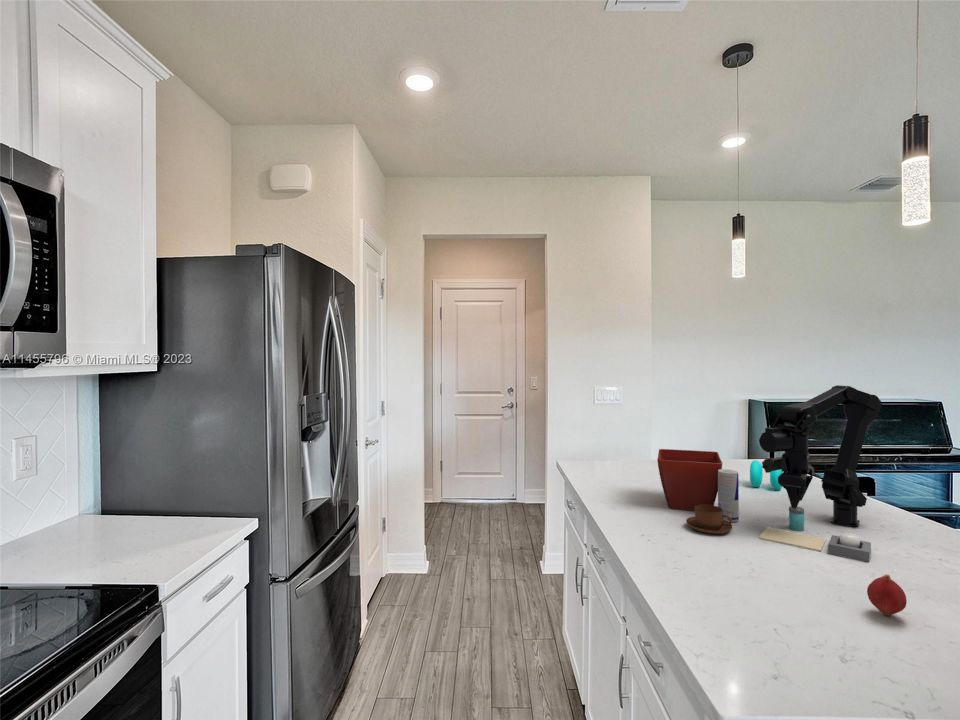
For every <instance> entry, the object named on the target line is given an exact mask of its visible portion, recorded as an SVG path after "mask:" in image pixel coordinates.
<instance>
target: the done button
mask: <svg viewBox="0 0 960 720" xmlns="http://www.w3.org/2000/svg"><path fill="white" fill-rule="evenodd" d="M839 536H840V545H845V546H850V547H855V548H860V541H861V540H860V538H861V536H859V535H858V534H855V533H851V532H840V533H839Z"/></svg>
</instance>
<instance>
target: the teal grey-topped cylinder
mask: <svg viewBox="0 0 960 720" xmlns="http://www.w3.org/2000/svg"><path fill="white" fill-rule="evenodd" d="M788 528H789V530H791V531H795V532H804V531H805V508H804V507H802V506H797V508H792V507H791V505H790V506H788Z"/></svg>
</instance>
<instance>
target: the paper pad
mask: <svg viewBox="0 0 960 720" xmlns="http://www.w3.org/2000/svg"><path fill="white" fill-rule="evenodd" d="M758 539H760V540H765V541H768V542H769V541H770V542H772V543H773V542H774V543H778V544H783V545H787V546H791V547H792V546H793V547H796V548H802V549H806V550H811V551H816V552H820V553H822V551H823V548H824V546H825V544H826V542H827V538H823V537H819V536H818V537H817V536H812V535H808V534H803V533H798V532H793V531H787V530H783V529H780V528H779V529H778V528H773V527H768V526H767V527H766V528H765V529H764V530H763V531H762V533H761V534H760V535H759V536H758Z"/></svg>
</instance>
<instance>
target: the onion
mask: <svg viewBox="0 0 960 720" xmlns="http://www.w3.org/2000/svg"><path fill="white" fill-rule="evenodd" d="M866 588H867V590H866V593H867V597H868V598H867V599H868V600H869V601H870V603H871V604H872V605H873V607H874V608H875V609H877V610H878V611H879V612H881V613H882V614H883V615H884V616H885V617H891V616H893V615H895V614H897V613H901V612H902V611H904V609H906V607H907V596H906V593H905V591H904V589H902V587H901V586H900V585H899V584H898V583H897V582H896V581H894V580H893V579H892V578H891V575H890V574H886V573H885V574H884V575H883V576H880V577H878V578H875V579H874V580H872V581H871V583H869V584H868V586H867V587H866Z"/></svg>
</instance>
